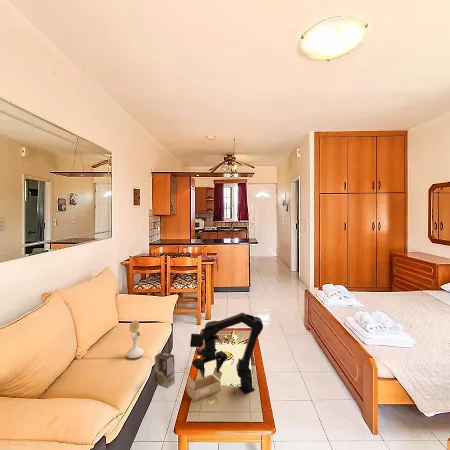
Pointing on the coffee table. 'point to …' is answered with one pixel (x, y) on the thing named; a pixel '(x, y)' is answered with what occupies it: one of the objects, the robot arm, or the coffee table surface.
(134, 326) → the flower in vase
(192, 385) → the outer flap
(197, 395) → the carton
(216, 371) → the inner flap
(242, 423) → the coffee table surface
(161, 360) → the coffee box
